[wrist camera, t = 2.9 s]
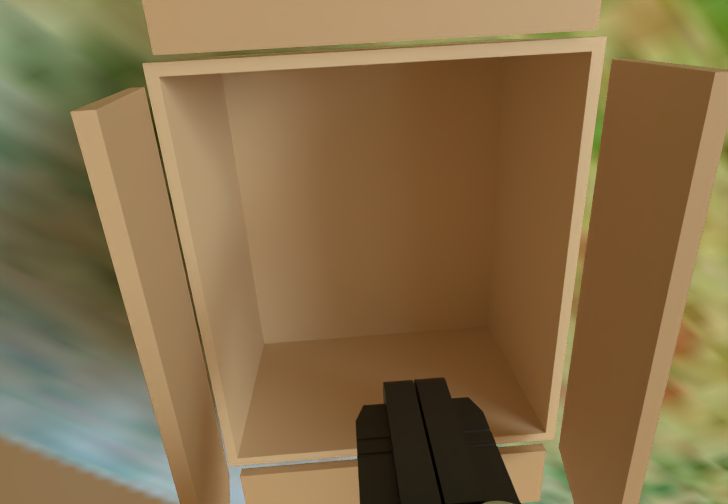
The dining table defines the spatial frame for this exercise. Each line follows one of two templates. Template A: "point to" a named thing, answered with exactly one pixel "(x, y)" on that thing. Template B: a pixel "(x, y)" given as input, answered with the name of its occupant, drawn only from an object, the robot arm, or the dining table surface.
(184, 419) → the flap
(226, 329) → the carton
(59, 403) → the dining table surface
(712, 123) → the flap
